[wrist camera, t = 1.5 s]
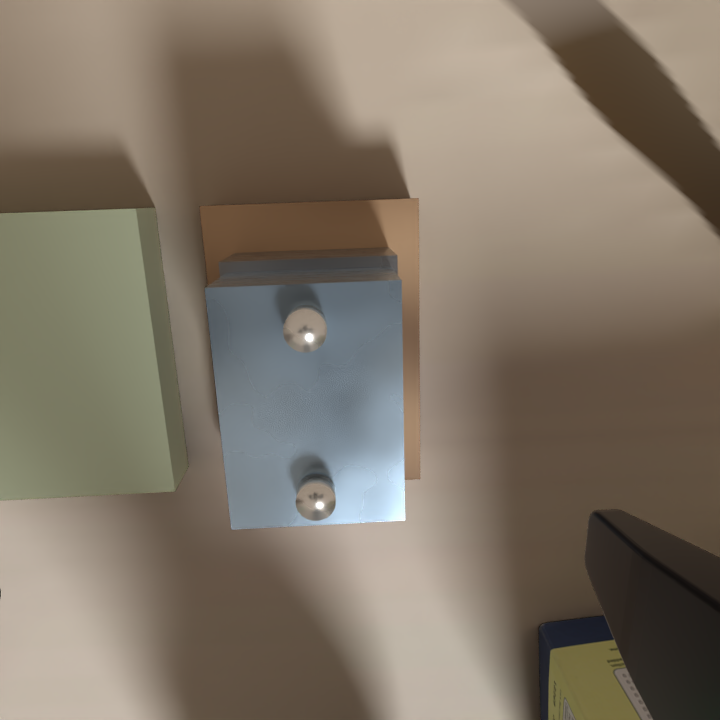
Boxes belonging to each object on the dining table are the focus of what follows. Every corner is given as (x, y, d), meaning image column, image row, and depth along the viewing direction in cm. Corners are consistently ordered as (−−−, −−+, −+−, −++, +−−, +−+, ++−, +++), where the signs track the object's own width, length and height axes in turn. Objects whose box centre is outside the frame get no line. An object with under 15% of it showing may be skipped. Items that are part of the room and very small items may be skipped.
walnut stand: (412, 455, 23) (420, 479, 21) (238, 464, 23) (230, 488, 21) (410, 198, 20) (418, 198, 18) (212, 205, 20) (199, 206, 18)
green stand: (188, 466, 23) (174, 491, 21) (-42, 478, 22) (-77, 504, 20) (155, 207, 20) (135, 208, 18) (-108, 217, 20) (-156, 219, 18)
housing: (392, 443, 21) (415, 542, 15) (253, 450, 20) (220, 553, 14) (388, 246, 19) (413, 270, 13) (235, 252, 18) (187, 278, 13)
